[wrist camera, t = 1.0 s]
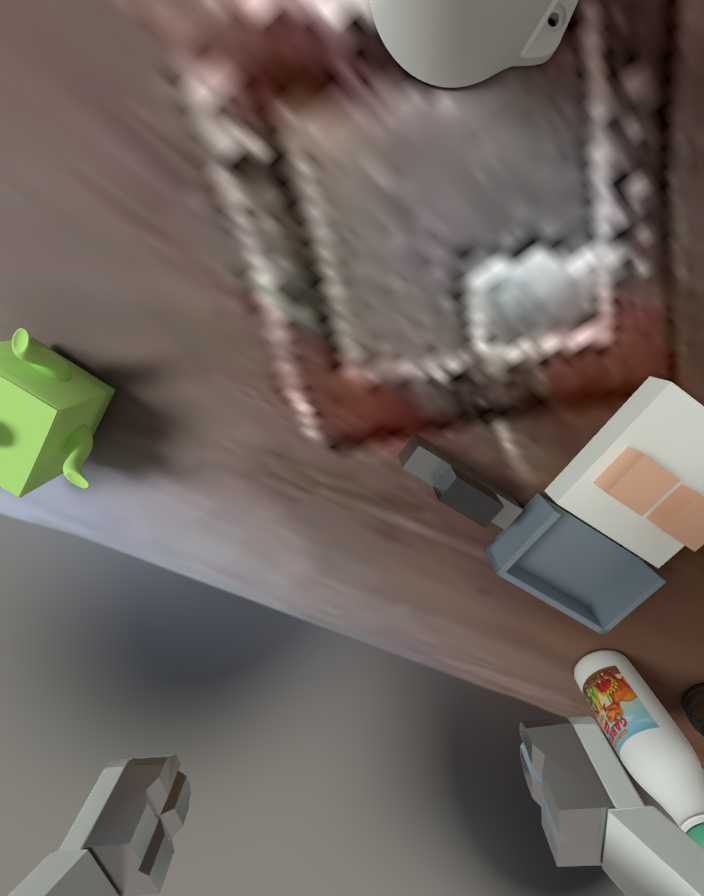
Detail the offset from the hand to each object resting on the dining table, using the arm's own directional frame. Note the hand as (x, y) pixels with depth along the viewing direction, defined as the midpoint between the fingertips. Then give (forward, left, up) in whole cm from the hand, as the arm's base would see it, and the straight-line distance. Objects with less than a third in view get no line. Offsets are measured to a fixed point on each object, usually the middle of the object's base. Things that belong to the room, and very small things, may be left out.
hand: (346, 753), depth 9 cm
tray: (+3, +32, -35) cm, 48 cm away
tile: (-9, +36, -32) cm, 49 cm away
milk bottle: (+14, +50, -35) cm, 63 cm away
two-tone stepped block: (+1, +14, -35) cm, 38 cm away
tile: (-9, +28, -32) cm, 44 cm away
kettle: (+17, -27, -35) cm, 47 cm away
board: (-11, +32, -35) cm, 49 cm away
